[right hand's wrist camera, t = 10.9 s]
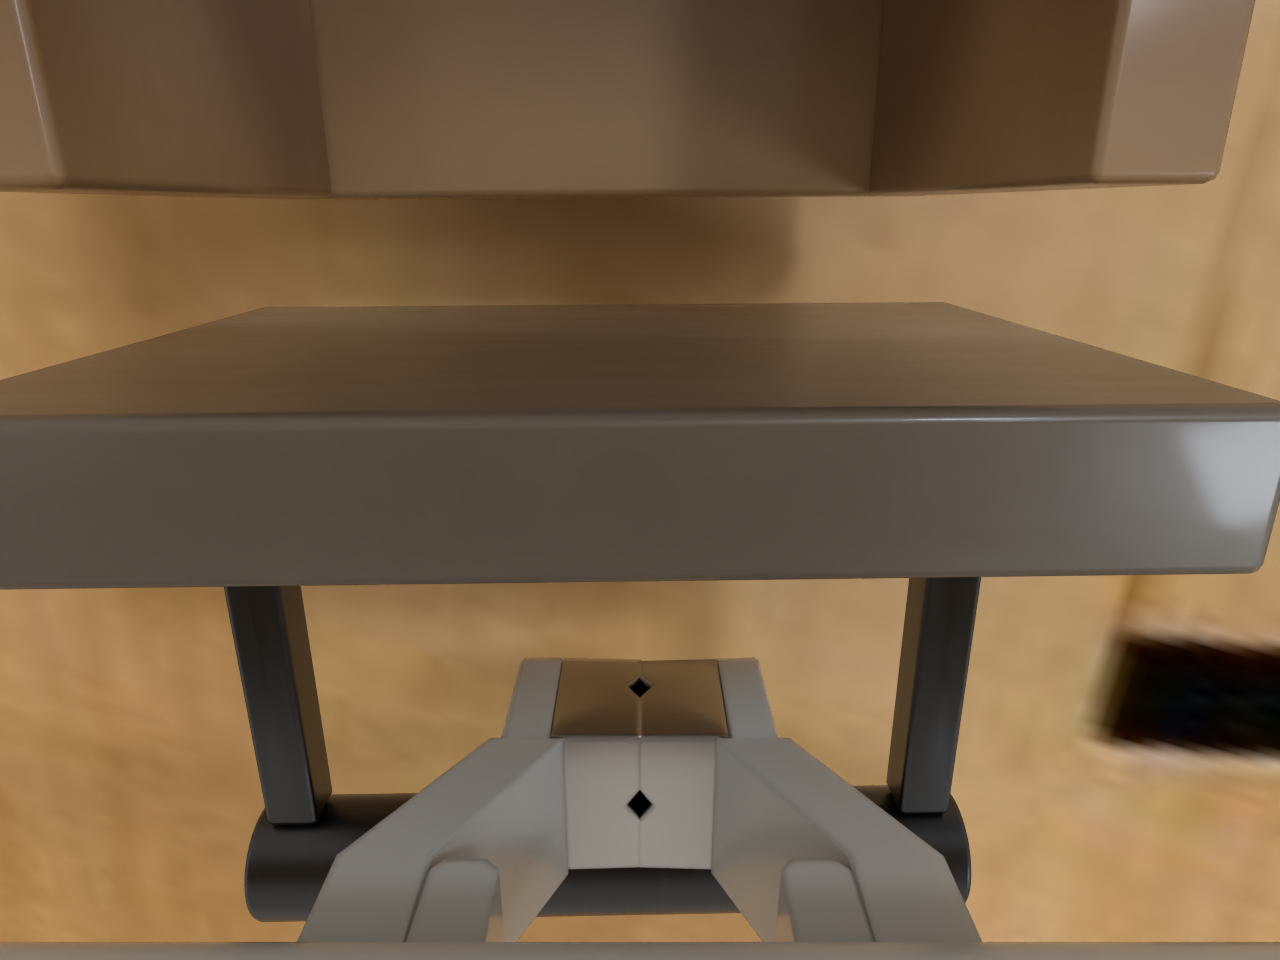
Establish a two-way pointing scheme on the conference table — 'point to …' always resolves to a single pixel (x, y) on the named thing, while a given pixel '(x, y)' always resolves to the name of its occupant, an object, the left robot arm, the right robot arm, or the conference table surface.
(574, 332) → the drawer
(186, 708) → the conference table surface
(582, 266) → the conference table surface
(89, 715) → the conference table surface
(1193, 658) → the conference table surface
